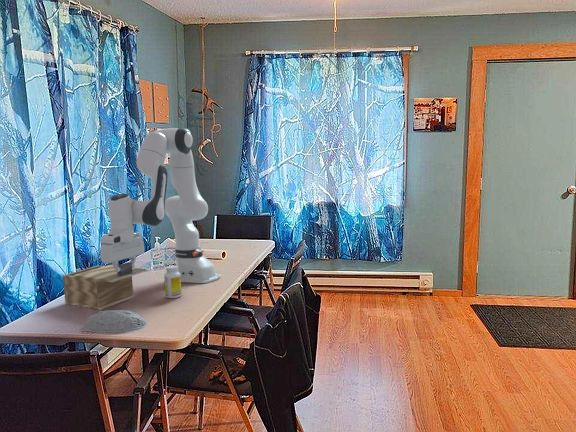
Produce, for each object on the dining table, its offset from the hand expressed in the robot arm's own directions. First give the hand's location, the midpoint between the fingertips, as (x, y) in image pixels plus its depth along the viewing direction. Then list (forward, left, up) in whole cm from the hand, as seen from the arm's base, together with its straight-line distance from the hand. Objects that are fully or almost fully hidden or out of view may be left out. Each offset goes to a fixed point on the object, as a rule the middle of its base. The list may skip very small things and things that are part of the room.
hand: (124, 269), depth 213 cm
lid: (+8, 0, -2) cm, 8 cm away
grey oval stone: (-13, +19, -15) cm, 28 cm away
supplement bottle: (-9, -17, -15) cm, 25 cm away
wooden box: (+16, 0, -15) cm, 21 cm away
